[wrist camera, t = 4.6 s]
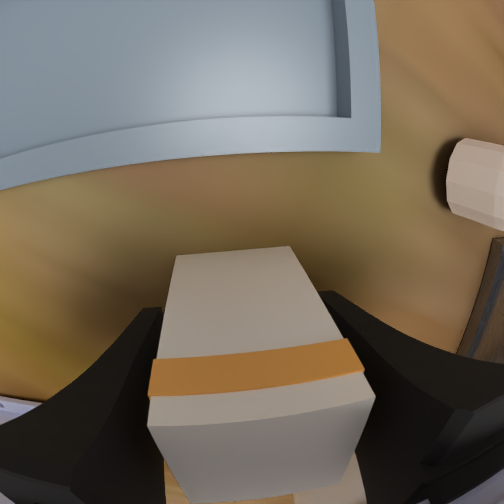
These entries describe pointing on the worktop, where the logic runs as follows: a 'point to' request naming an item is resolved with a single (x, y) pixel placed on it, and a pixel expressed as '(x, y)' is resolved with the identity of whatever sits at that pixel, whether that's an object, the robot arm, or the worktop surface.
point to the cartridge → (253, 380)
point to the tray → (182, 81)
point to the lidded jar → (337, 489)
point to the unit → (488, 313)
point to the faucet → (477, 182)
